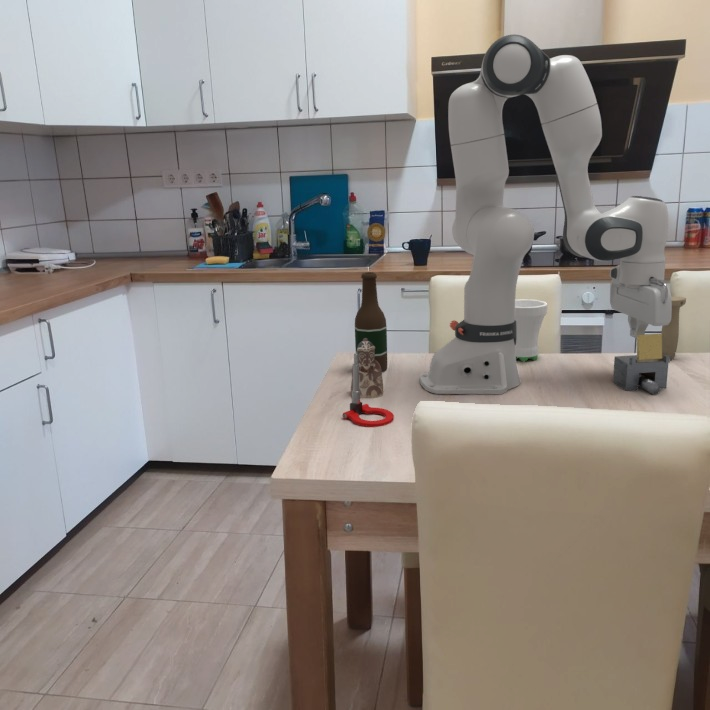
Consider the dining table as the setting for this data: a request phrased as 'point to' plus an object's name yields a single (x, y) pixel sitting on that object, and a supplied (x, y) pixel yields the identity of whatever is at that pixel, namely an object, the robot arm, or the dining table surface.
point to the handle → (672, 328)
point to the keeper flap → (649, 348)
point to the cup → (528, 327)
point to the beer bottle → (371, 320)
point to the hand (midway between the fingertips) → (636, 337)
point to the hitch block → (629, 372)
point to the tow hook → (358, 408)
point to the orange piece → (648, 384)
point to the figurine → (368, 371)
